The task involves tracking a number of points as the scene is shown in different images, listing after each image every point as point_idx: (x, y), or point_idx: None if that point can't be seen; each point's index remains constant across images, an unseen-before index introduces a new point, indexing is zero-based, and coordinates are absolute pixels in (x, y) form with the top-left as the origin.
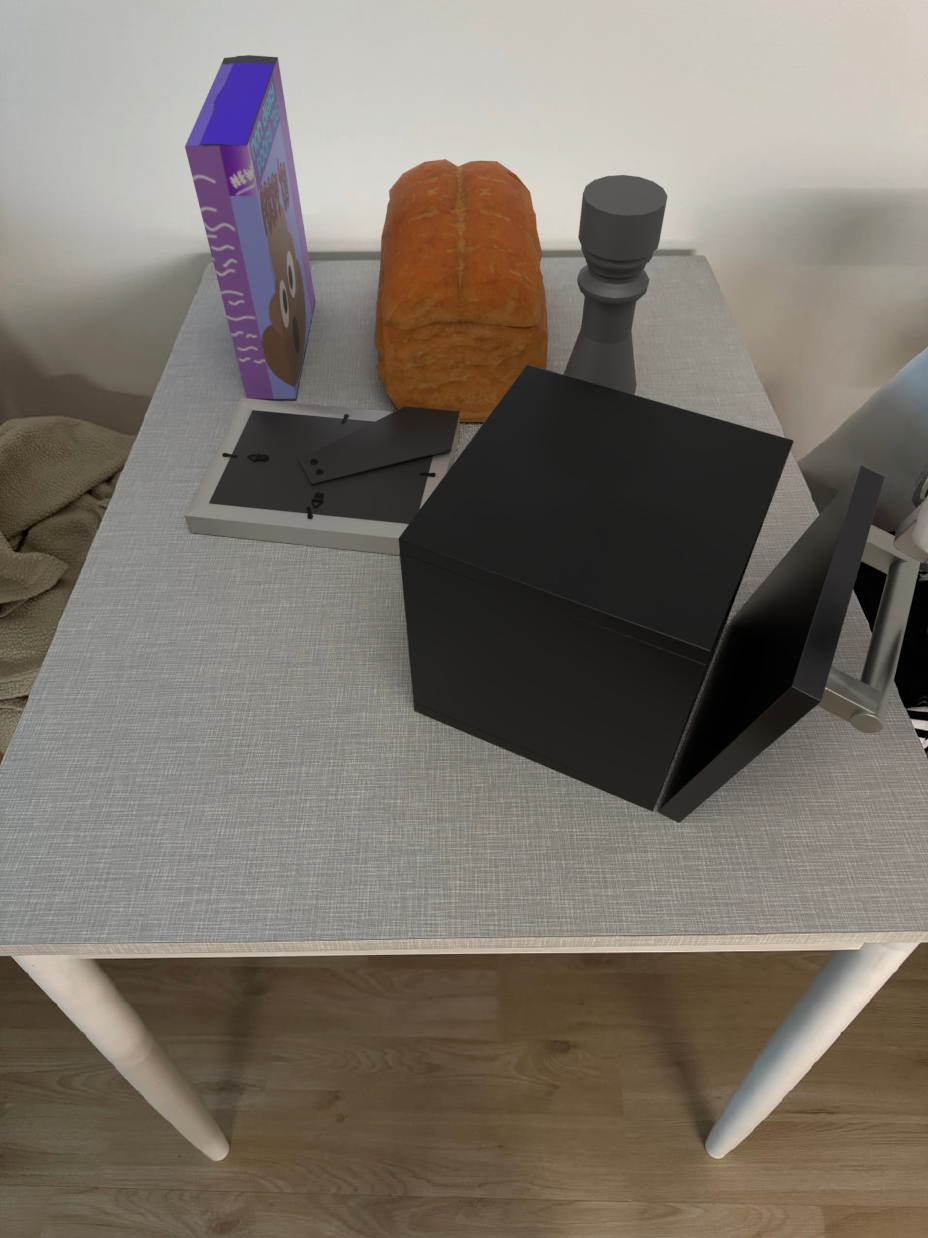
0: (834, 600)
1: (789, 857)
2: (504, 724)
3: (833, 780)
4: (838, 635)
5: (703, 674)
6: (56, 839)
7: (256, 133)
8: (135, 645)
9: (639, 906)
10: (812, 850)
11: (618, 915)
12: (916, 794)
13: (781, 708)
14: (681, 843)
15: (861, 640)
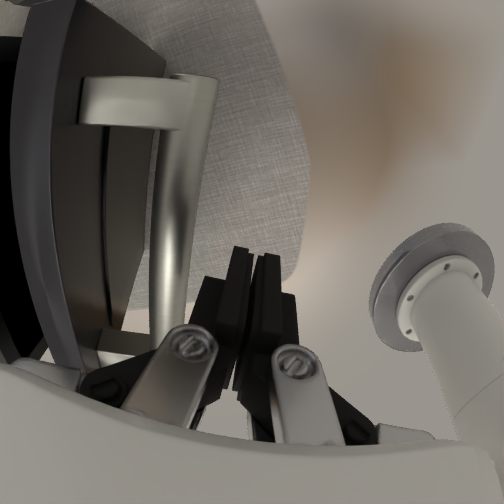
0: (58, 335)
1: (213, 260)
2: None
3: (242, 195)
4: (84, 369)
5: (41, 340)
6: None
7: None
8: None
9: (139, 299)
10: (228, 252)
11: (132, 304)
12: (307, 194)
13: None
14: (148, 263)
15: (269, 43)
